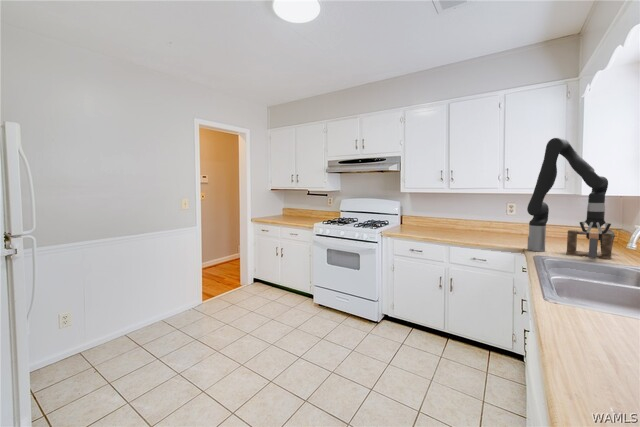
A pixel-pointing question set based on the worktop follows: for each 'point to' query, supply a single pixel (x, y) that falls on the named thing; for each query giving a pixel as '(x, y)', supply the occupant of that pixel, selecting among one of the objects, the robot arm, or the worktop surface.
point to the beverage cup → (612, 237)
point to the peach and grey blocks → (593, 244)
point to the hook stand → (572, 251)
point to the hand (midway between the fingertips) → (593, 239)
